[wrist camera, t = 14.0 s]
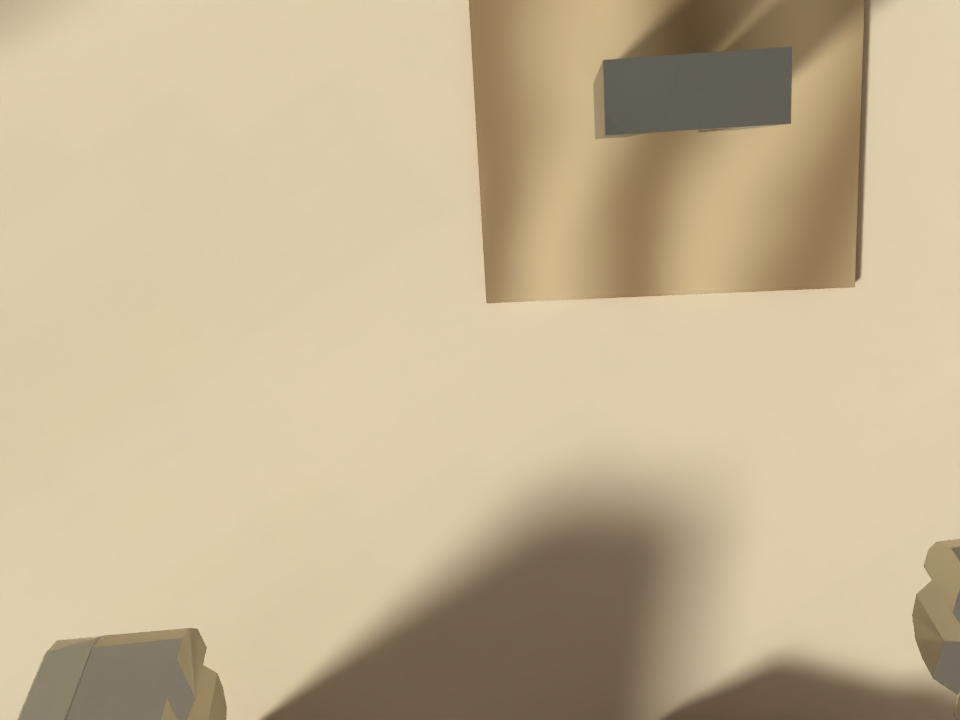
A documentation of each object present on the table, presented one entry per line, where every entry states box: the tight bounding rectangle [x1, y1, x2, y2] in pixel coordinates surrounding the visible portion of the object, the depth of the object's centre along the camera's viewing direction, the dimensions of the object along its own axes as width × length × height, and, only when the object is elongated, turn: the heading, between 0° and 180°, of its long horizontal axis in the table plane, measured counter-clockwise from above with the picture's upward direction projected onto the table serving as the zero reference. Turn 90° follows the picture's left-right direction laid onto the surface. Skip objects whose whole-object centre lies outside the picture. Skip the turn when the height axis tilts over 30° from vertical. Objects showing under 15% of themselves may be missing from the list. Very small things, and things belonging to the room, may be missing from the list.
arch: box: [593, 46, 792, 139], centre depth 29 cm, size 5×2×9 cm, turn 93°
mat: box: [469, 0, 865, 303], centre depth 33 cm, size 14×14×1 cm
